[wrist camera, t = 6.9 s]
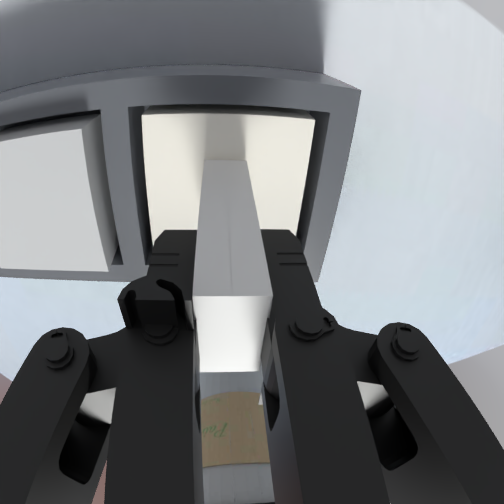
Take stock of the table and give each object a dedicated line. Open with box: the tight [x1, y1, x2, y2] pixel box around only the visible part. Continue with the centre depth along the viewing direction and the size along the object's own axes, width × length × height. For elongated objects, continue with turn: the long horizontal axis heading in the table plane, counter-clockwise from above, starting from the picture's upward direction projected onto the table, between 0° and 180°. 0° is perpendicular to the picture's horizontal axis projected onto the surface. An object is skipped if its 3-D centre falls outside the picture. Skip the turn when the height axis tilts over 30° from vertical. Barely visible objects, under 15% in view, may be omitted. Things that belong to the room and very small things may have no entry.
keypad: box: [0, 65, 361, 282], centre depth 13 cm, size 24×9×4 cm, turn 85°
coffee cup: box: [200, 365, 275, 504], centre depth 21 cm, size 9×9×15 cm
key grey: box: [0, 114, 119, 272], centre depth 11 cm, size 6×6×2 cm
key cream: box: [142, 104, 315, 246], centre depth 13 cm, size 6×6×2 cm
